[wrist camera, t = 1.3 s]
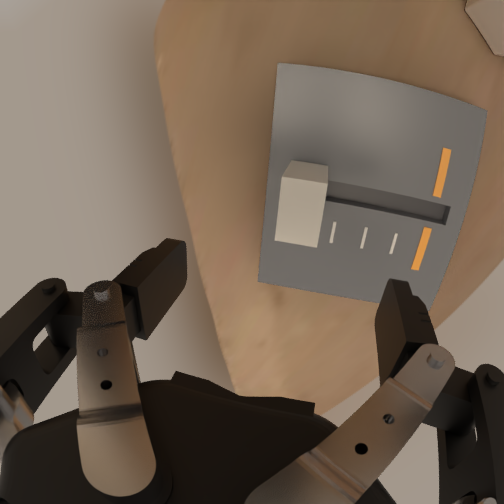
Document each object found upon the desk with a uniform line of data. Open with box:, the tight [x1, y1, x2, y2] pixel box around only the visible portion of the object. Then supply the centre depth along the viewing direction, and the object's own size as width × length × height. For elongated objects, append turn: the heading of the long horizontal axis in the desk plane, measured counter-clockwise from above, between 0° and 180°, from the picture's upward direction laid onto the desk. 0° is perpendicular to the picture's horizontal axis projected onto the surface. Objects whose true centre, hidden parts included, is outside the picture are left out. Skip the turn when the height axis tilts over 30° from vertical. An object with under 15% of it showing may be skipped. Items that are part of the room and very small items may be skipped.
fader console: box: [258, 63, 487, 311], centre depth 23 cm, size 18×16×3 cm
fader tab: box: [275, 160, 328, 248], centre depth 21 cm, size 4×3×6 cm, turn 176°
